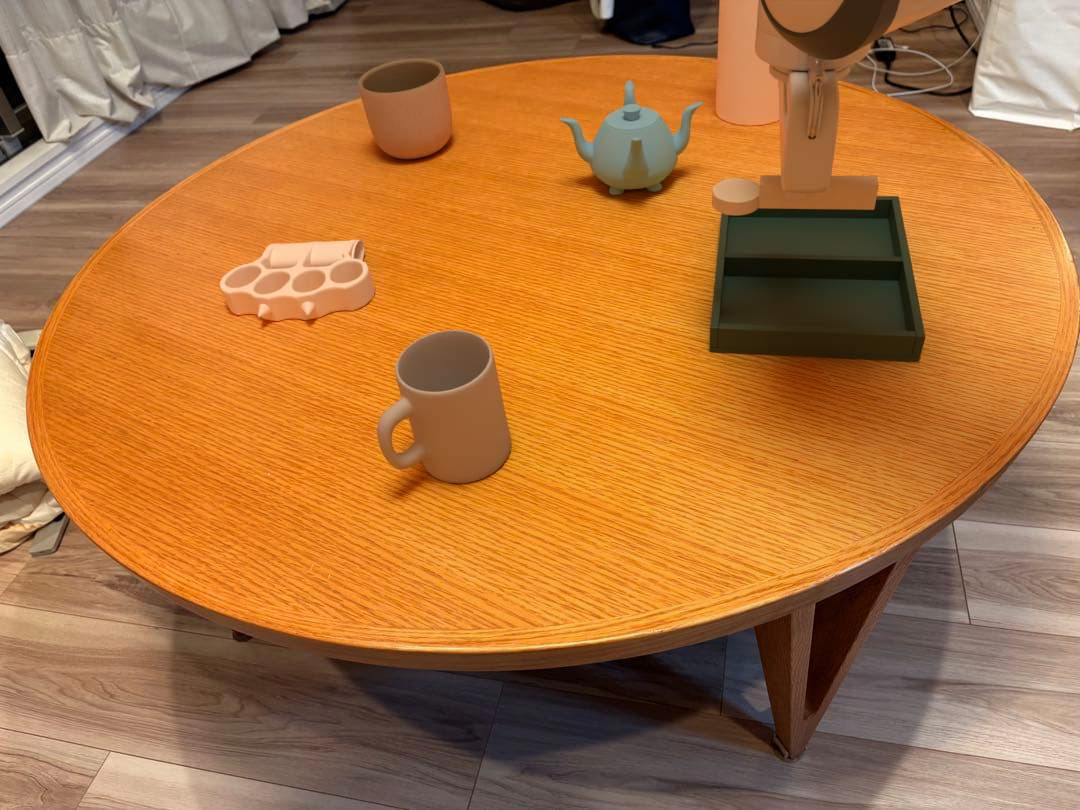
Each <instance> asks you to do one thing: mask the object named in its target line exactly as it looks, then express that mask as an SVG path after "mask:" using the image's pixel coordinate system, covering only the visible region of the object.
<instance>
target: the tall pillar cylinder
mask: <svg viewBox="0 0 1080 810" xmlns="http://www.w3.org/2000/svg"><path fill="white" fill-rule="evenodd" d="M758 1H759V0H719V4H718V5H719V7H718V31H717V34H718V35H717V61H716V83H715V84H716V87H715V88H716V89H715V115H716V116H717V117H718V118H719V119H720V120H721V121H724V122H726V123H728V124H732V125H737V126H746V127H747V126H749V127H752V126H763V125H764V126H765V125H769V124H774V123H777V122H778V121H779V122H780V120H779V88H778V80H777V79H775V78H774V77H773V76H772V75H771V74H770V72H769V65H770V64H768V63H766V62H764V61H763V60H761V59H760V58H759V57H758V56H757V54H756V52H755V42H756V29H757V15H758Z"/></svg>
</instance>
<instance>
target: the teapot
mask: <svg viewBox="0 0 1080 810" xmlns="http://www.w3.org/2000/svg"><path fill="white" fill-rule="evenodd" d="M623 97H624V98H623V104H622V108H619V109H616V110H614V111H611V112H610V113H609V114H608V115H607V116H606V117H605V118H604V120H603V122H602V123H601V124H600V127H599V128H598V130H597V132H596V134H595V137H594V138H593V141H592V142H590V141H588V140H586V139H585V136H584V135H583V130H582V127H581V125H580V123H579V122H578V121H577V119H575V118H571V117H559V118H558V120H559V121H560V122H562V123H564V124H566V125H567V127H569V129H570V130H571V133H572V137H573V142H574V146H575V149H576V152H577V154H578V156H579V157H580V159H582V160H583V161H584V162H585V163H587V164H589V166H590V169H591V171H592V173H593V175H594V176H595V177H596V178H597V179H599V180H600V181H601V182H602V183H604V184H605V185H607V186H609V187H610V188H609V189H608V193H609V194H610V195H613V196H619V195H621V194H623V193H624V192H625V190H639V189H645V188H646V190H647V191H649V192H659V191H660V190H662V189H663V186H662V183H661V182H662V181H664V180H665V179H667V177H669V175H670V174H671V173H672V172H673V170H674V169H675V168H676V166H677V164H678V159H679V158H678V157H679V156H680V155H681V154H682V153H683V152H684V151H685V150H686V149H687V147H688V145H689V143H690V138H691V127H692V125H691V124H692V120H693V119H692V118H693V115H694V113H695V112H696V110H698V109H699V107H701V106H702V105H703V101H697V102H695V103H692V104H690V105H688V106H687V107H686V108H685V109H684V110H683V112H682V115H681V121H680V127H679V130H678V131H677V132H676V133H675V134H673V133H672V131H671V129H670V127H669V126H668V125H667V123H666V122H665V121H664V119H663V117H662V116H661V115H660V114H659V113H658V112H657V111H656V110H654V109H653V108H650V107H645V106H641V105H640V104H637V101H636V95H635V85H634V83H633V80H627V81H626V82H625V84H624V96H623Z"/></svg>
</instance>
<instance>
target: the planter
mask: <svg viewBox="0 0 1080 810" xmlns="http://www.w3.org/2000/svg"><path fill="white" fill-rule="evenodd" d="M357 87H358V90H359V94H360V98H361V102H362V105H363V109H364V112H365V113H364V114H365V116H366V119H367V122H368V125H369V126H368V127H369V129H370V132H371V134H372V136H373V140H374V141H375V143H376V144H377V145H378V147H379V148H380V149H381V150H382V151H383V152H384V153H386V154H387V155H389V156H391V157H392V158H396V159H399V160H400V159H401V160H414V159H415V160H416V159H421V158H425V157H428V156H430V155H431V156H432V155H433V154H435V153H437V152H438V151H440V150H441V149H442V148H443V147H444V146H446V144H447V143H448V141H449V139H450V137H451V136H452V135H451V134H452V129H453V113H452V106H451V100H450V93H449V89H448V83H447V76H446V73H445V68H444V66H443V64H442V63H440V62H439V61H437V60H433V59H429V58H404V59H398V60H392V61H390V62H386V63H385V62H384V63H383V64H380V65H377V66H375V67H373V68H371V69H369V70H368V71H366V72H364V73H363V74H362V75H361V76H360V77H359V78H358V81H357Z"/></svg>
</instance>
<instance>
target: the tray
mask: <svg viewBox="0 0 1080 810" xmlns="http://www.w3.org/2000/svg"><path fill="white" fill-rule="evenodd" d="M719 226H720V227H719V235H718V236H719V237H718V246H717V254H716V255H717V256H716V266H715V276H714V286H713V296H712V307H711V315H710V326H709V345H708V346H709V347H708V348H709V349H708V351H709V353H724V354H726V353H727V354H745V355H765V356H768V355H770V356H787V357H788V356H790V357H808V358H831V359H850V360H851V359H853V360H868V361H869V360H871V361H891V362H892V361H893V362H911V363H912V362H914V363H920V359H921V356H922V351H923V348H924V344H925V340H926V332H925V326H924V321H923V315H922V310H921V306H920V300H919V296H918V291H917V285H916V281H915V273H914V270H913V269H914V268H913V264H912V259H911V254H910V249H909V243H908V238H907V234H906V227H905V222H904V216H903V212H902V206H901V201H900V197H899V195H877V197H876V202H875V207H874V210H855V209H774V208H758V209H757V210H755V211H754V212H752V213H749V214H745V215H726V214H723V213H721V217H720V225H719Z"/></svg>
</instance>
